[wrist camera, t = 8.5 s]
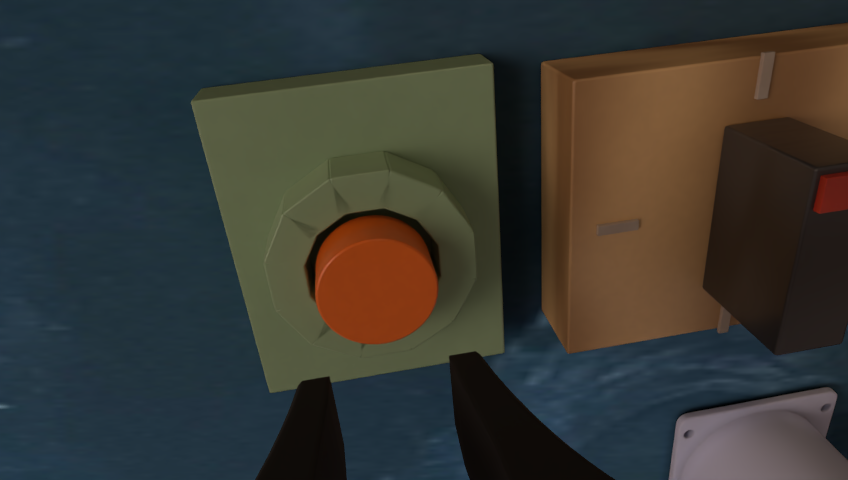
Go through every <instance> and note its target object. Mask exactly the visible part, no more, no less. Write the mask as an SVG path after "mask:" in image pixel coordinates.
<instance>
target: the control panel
mask: <svg viewBox="0 0 848 480" xmlns="http://www.w3.org/2000/svg"><path fill="white" fill-rule="evenodd" d="M785 117H790V118H792V119H795V120H798V121H800V122H803V123H805V124H808V125H811V126H813V127H816V128H818V129H821V130H824V131H826V132H829V133H831V134H834V135H837V136H839V137H842V138H844V139H847V140H848V23H842V24H834V25H826V26H819V27H811V28H803V29H795V30H787V31H779V32H771V33H764V34H756V35H748V36H740V37H732V38H724V39H716V40H709V41H701V42H693V43H685V44H677V45H669V46H662V47H654V48H646V49H638V50H630V51H622V52H614V53H607V54H599V55H591V56H583V57H575V58H567V59H559V60H552V61H544V62H542V63H541V216H542V311H543V313H544V314H545V316H546V318H547V319H548V321H549V323H550V324H551V326H552V328H553V330H554V331H555V333H556V335H557V336H558V338H559V340H560V341H561V343H562V345H563V346H564V348H565V350H566V351H567V353H569V354H570V353H576V352H581V351H587V350H593V349H599V348H604V347H610V346H616V345H622V344H627V343H633V342H639V341H645V340H650V339H656V338H662V337H668V336H673V335H679V334H685V333H691V332H696V331H702V330H708V329H713V328H717V332H718V333H724V332H728V329H729V326H731V325H736V324H741V323H740V322H739V321H738V320H736V319H735V318H734V317H733V316H732V315H731V314H730V313H729V312H728V311H727V310H726V309H725V308H723V307H722V306H721V305H720V304H719V303H718V302H717V301H716V300H715V299H714V298H713V297H711V296H710V295H709V294H708V293H707V292H706V291H705V290H704V289H703V287H702V286H703V278H704V271H705V264H706V257H707V250H708V243H709V236H710V228H711V221H712V214H713V207H714V200H715V193H716V185H717V178H718V171H719V164H720V157H721V150H722V142H723V135H724V128H725V127H726V126H729V125H736V124H743V123H750V122H757V121H764V120H771V119H778V118H785Z"/></svg>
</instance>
